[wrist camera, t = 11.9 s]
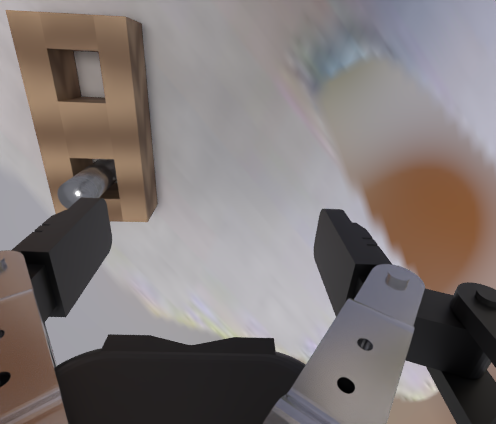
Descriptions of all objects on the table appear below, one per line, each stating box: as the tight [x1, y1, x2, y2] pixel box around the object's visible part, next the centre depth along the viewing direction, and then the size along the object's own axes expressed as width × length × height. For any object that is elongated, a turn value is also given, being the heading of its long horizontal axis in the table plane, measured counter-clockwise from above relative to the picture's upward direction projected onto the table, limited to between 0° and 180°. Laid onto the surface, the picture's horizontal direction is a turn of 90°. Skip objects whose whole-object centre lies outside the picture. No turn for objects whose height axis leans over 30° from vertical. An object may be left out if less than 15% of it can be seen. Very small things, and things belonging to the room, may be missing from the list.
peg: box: [57, 159, 117, 209], centre depth 33 cm, size 3×3×10 cm
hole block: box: [6, 10, 157, 222], centre depth 33 cm, size 20×10×5 cm, turn 178°
